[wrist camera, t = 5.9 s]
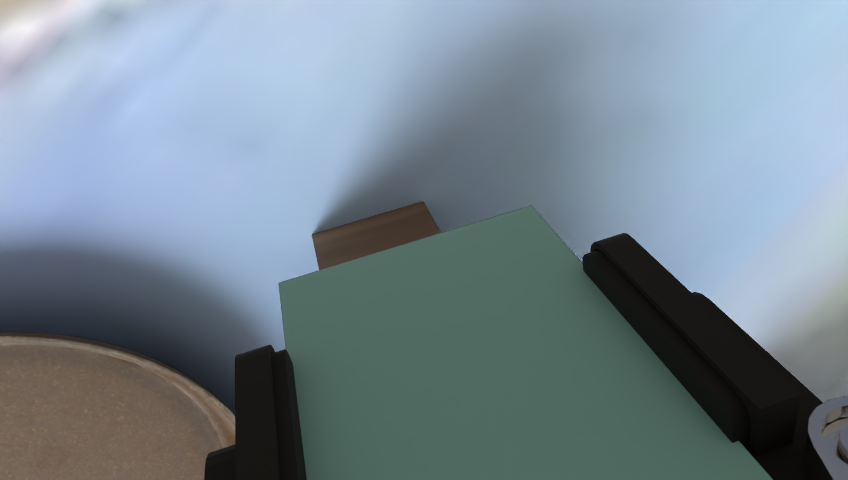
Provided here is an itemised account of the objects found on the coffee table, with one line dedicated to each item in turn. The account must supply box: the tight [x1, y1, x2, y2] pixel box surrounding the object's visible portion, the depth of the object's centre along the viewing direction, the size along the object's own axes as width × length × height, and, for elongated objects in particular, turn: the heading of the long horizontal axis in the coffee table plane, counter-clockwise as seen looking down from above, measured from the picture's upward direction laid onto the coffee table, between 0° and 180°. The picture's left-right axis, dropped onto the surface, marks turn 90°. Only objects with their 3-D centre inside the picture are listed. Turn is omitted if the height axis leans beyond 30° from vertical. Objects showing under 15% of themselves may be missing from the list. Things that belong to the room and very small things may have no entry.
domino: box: [312, 202, 441, 270], centre depth 24 cm, size 2×5×10 cm, turn 101°
